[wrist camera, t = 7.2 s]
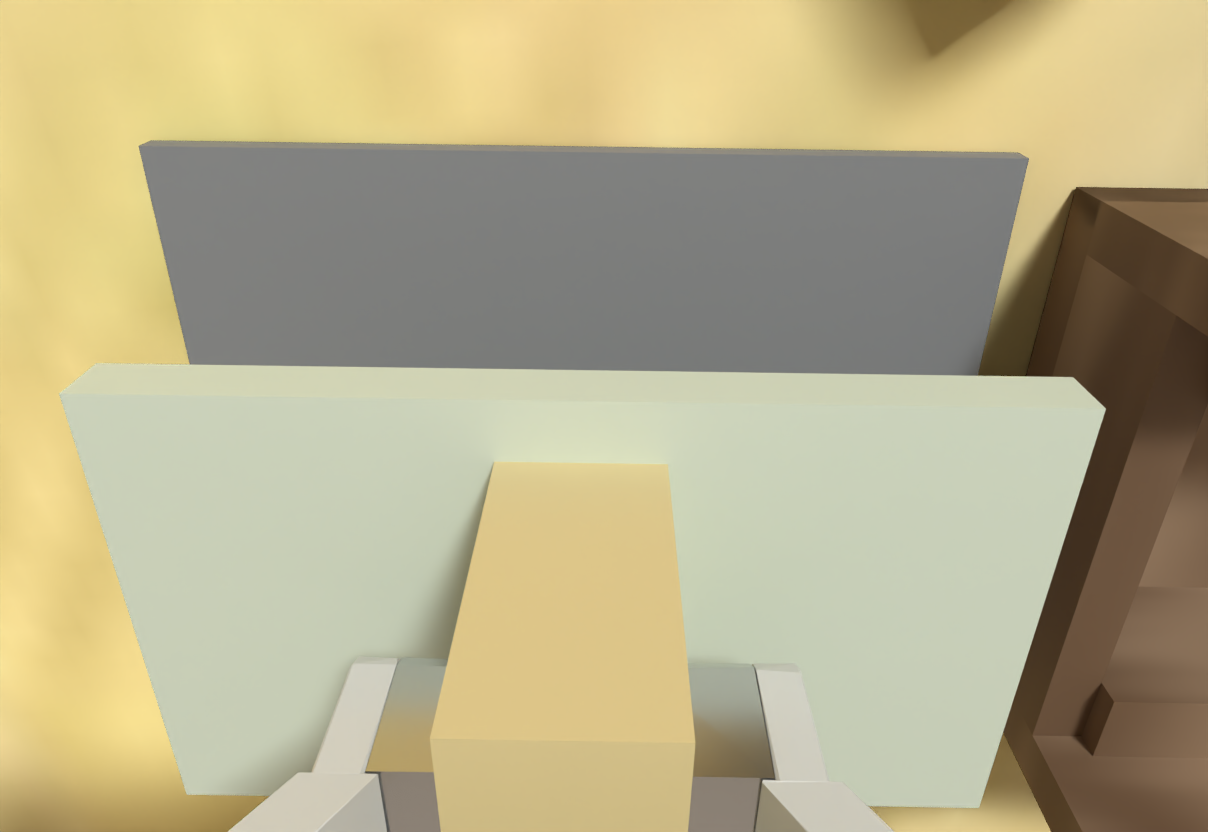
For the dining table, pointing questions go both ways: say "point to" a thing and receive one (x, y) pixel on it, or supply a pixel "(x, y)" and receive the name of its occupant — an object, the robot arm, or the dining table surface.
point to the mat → (583, 256)
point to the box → (1127, 527)
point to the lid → (582, 566)
